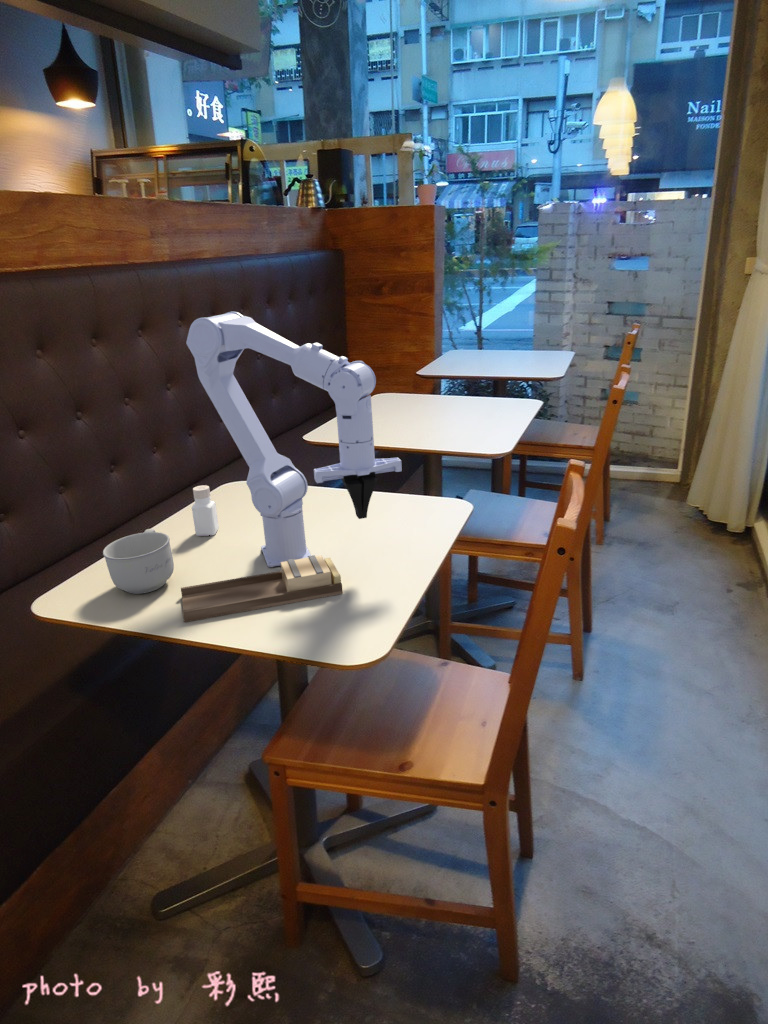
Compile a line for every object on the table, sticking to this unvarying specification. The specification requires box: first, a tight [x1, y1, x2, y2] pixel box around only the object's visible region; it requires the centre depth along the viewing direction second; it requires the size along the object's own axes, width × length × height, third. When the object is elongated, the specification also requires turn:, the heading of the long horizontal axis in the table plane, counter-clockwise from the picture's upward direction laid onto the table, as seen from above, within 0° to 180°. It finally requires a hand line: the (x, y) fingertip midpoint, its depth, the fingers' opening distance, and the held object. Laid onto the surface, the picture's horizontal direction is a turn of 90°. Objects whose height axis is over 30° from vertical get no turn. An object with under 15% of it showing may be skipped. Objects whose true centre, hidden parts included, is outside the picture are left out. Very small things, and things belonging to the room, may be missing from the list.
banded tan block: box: [280, 554, 332, 592], centre depth 123 cm, size 7×7×3 cm
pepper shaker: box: [191, 484, 220, 537], centre depth 148 cm, size 4×4×10 cm
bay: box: [180, 557, 344, 623], centre depth 122 cm, size 9×25×3 cm, turn 106°
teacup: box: [102, 528, 175, 595], centre depth 128 cm, size 14×11×8 cm
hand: (361, 516), depth 127 cm, fingers closed
